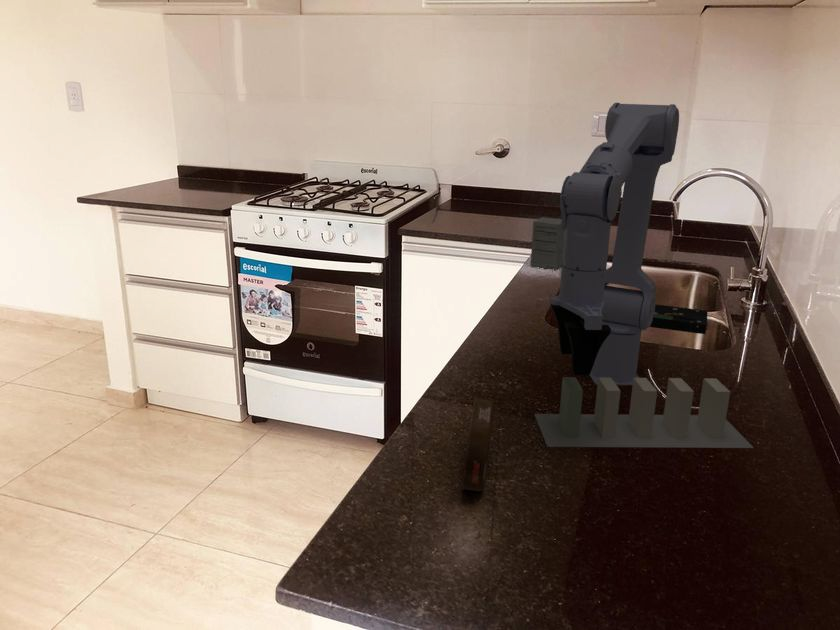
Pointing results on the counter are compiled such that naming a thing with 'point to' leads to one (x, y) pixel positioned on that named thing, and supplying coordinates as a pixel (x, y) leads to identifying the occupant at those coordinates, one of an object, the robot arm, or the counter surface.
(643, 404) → the domino
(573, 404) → the domino
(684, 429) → the domino
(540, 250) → the grey drawer cabinet
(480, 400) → the dark translucent bar
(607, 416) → the domino
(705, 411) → the domino
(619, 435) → the mat
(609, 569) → the counter surface
